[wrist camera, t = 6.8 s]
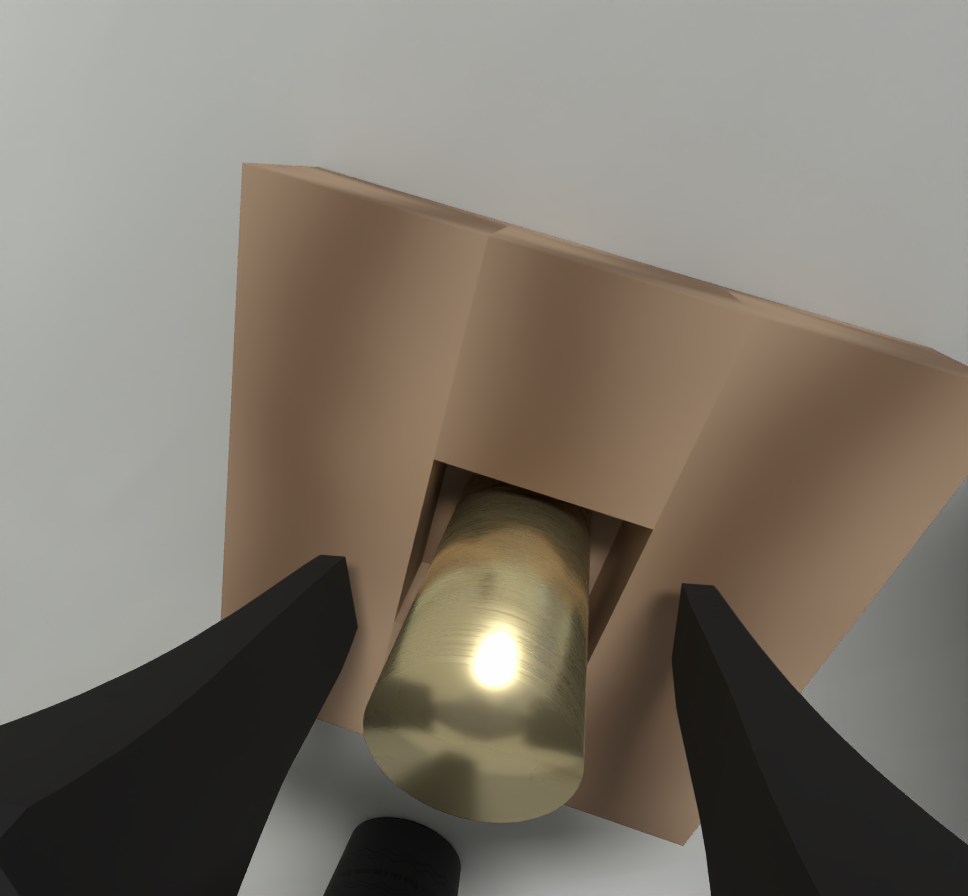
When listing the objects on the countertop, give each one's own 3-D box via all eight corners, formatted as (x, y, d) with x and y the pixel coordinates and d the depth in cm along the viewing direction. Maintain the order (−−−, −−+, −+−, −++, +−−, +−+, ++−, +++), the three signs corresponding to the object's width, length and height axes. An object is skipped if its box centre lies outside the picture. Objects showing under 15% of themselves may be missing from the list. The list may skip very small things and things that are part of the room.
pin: (586, 451, 14) (575, 669, 8) (595, 568, 15) (591, 833, 9) (450, 458, 15) (339, 660, 8) (471, 568, 16) (388, 812, 10)
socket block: (932, 348, 12) (1028, 396, 9) (670, 749, 18) (682, 845, 16) (317, 167, 13) (242, 162, 10) (271, 614, 19) (217, 684, 16)
